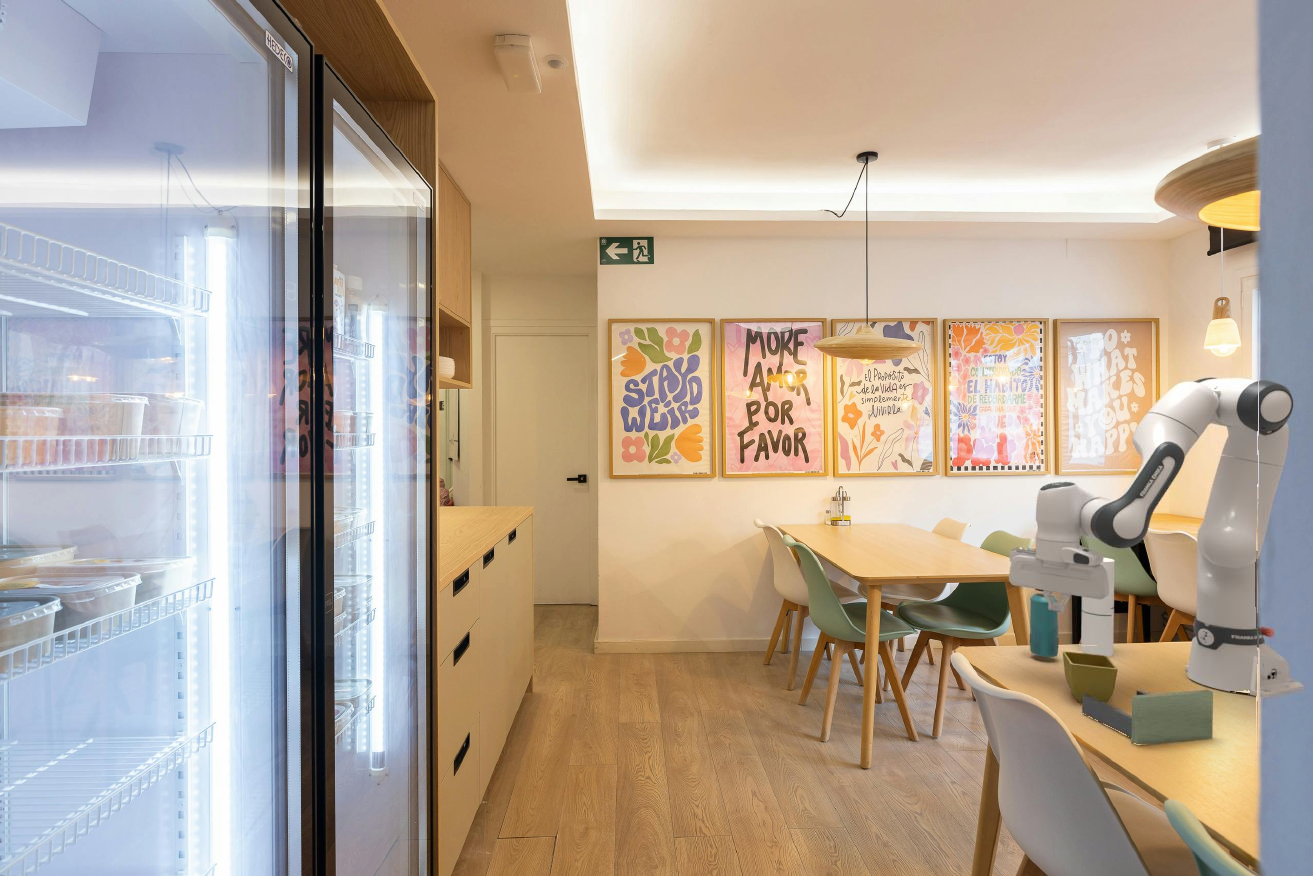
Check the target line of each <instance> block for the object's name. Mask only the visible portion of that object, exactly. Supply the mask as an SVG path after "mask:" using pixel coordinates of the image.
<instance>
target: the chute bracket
mask: <svg viewBox="0 0 1313 876" xmlns="http://www.w3.org/2000/svg"><path fill="white" fill-rule="evenodd" d="M1135 693H1136V694H1135V695H1132V696H1131V714H1129V713H1128V712H1126V711H1124V710H1121V709H1119V708H1117V707H1115V706H1113V705H1110V704H1109V703H1108V702H1107V703H1105V702H1103V701H1100V700H1098V699H1096V698H1094V697H1092V696H1090V695H1088V694H1085V695H1082V702H1081V703H1082V704H1081V705H1082V706H1081V707H1082V708H1081V709H1082V710H1081V711H1082V712H1081V713H1084V714H1086V715H1088V716H1090V717H1092V718H1093V719H1096V720H1098V721H1100V722H1102V723H1104V724H1106V725H1108V726H1110V727H1112V728H1114V729H1116V730H1118V731H1120V732H1122V733H1124V734H1126V735H1127V736H1129V737H1130V738H1132V739H1131V743H1132V742H1133V743H1136V744H1151V745H1158V744H1159V745H1160V744H1169V743H1181V742H1190V741H1200V740H1211V739H1213V733H1214V732H1213V729H1214V728H1213V724H1214V722H1213V720H1214V717H1213V715H1214V691H1211V690H1209V689H1199V690H1197V689H1196V690H1188V691H1187V690H1185V691H1174V692H1172V691H1171V692H1163V693H1162V692H1161V693H1160V692H1159V693H1149V692H1147V691H1144V690H1142V689H1139V690H1136V692H1135ZM1084 714H1083V715H1084ZM1086 715H1085V716H1086ZM1088 716H1087V717H1088ZM1090 717H1089V718H1090ZM1092 718H1091V719H1092ZM1093 719H1092V720H1093ZM1130 738H1129V739H1130ZM1133 743H1132V744H1133Z"/></svg>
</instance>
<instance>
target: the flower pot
mask: <svg viewBox="0 0 1313 876" xmlns="http://www.w3.org/2000/svg"><path fill="white" fill-rule="evenodd" d="M1062 659H1063V668H1064V669H1063V670H1064V671H1063V672H1064V675H1065V676H1064V677H1065V680H1066V682H1067V685H1068V687H1069V689H1070V691H1071V693H1072V695H1073V696H1074V698H1075V700H1076V701H1077V702H1079V703H1082V695H1085V694H1088V695H1090V696H1092V697H1094V698H1096V699H1098V700H1100V701H1103V702H1105V703H1107V704H1108V702H1109V700H1110V699H1111V698H1112V696H1113V694H1114V692H1115V686H1116V684H1117V683H1116V682H1117V676H1118V671H1119V670H1118V666H1116V664H1114V663H1113V661H1112V660H1111V658H1110V657H1107V656H1104V655H1095V654H1086V653H1084V652H1083V653H1082V652H1076V651H1066V650H1065V651H1062Z"/></svg>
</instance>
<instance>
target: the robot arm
mask: <svg viewBox="0 0 1313 876" xmlns="http://www.w3.org/2000/svg"><path fill="white" fill-rule="evenodd" d="M1258 380H1259V379H1254V378H1247V377H1225V378H1223V377H1220V378H1218V377H1217V378H1216V377H1204V378H1199V379H1196V380H1194V381H1182V382H1179V383H1177V384H1176V385H1174V386H1172V387H1171V388H1170V389H1169V390H1168V391H1167V392H1166V393H1165V394H1163V395H1162V396H1161V397H1160V398H1159V399H1158V400H1157V401H1155V403H1154V404H1153V405H1152V407H1151V408H1150V409H1149V410H1148V412H1147V413H1146V414H1145V415H1144V416H1143V417H1142V419H1141V420H1140V422H1139V423H1138V424H1137V427H1136V428H1135V430H1134V432H1133V434H1132V437H1131V438H1132V440H1131V441H1132V444H1133V448H1134V449H1135V451H1136V452H1137V453H1138V455H1140V457H1141V466H1140V468H1139V469H1138V472H1136V474H1135V475H1134V477H1133V479H1132V480H1131V482H1130V483H1129V484H1128V486H1127V488H1125V491H1124V492H1123V493H1122V494H1121V495H1120V496H1118V497H1116V498H1115V499H1110V498H1105V497H1102V496H1099V495H1096V494H1094V493H1091V492H1089V491H1087V490H1086V489H1083V488H1082V487H1080V486H1078V485H1077V484H1076V483H1074V482H1072V481H1071V482H1070V481H1059V482H1053V483H1047V484H1045V485H1043V486H1041V487H1040V489H1039V490H1038V492H1037V498H1036V507H1035V521H1036V524H1037V530H1036V534H1035V548H1029V547H1028V548H1026V547H1021V546H1017V547H1016V548H1013V549H1011V551H1010V552H1009V562H1010V566H1009V571H1008V573H1009V574H1008V581H1009V582H1010V584H1011V585H1013V586H1016V587H1022V588H1028V589H1034V590H1035V589H1040V590H1043V592H1042V594H1043V595H1044V597H1045V599H1046V600H1047V602H1048V609H1049V610H1052V611H1057V612H1058V613H1064V612H1065V611H1066V606H1065V605H1066V604H1067V603H1068V601H1069V600H1070V598H1071V596H1077V597H1081V598H1082V597H1088V598H1094V599H1104V598H1105V597H1107V596H1108V594H1109V582H1108V575H1107V571H1106V569H1105V568H1104V566H1102V565H1101V563H1102V562H1103V559H1104V558H1105V557H1104V555H1103V554H1102V553H1100V552H1097V551H1095V550H1093V549H1090V548H1087V547H1085V546H1083V545H1080V542H1081V540H1080V539H1081V537H1083V536H1084V537H1085V536H1086V537H1089V538H1091V539H1094V540H1096V541H1100V542H1101V543H1103V544H1106V545H1107V546H1109V547H1112V548H1116V549H1129V548H1131V547H1133V546H1135V545H1138V544H1139V543H1140V542H1141V541H1143V539H1144V538H1145V536H1146V535H1147V533H1148V530H1149V527H1150V524H1151V522H1150V521H1151V518H1152V516H1153V514H1154V512H1155V509H1156V508H1157V506H1158V505H1159V503H1160V501H1161V500H1162V499H1163V497H1164V496H1165V494H1166V493H1167V491H1168V490H1169V488H1170V487H1171V485H1172V484H1173V482H1174V481H1175V479H1176V477H1177V475H1178V474H1179V472H1180V471H1181V468H1182V466H1183V465H1184V462H1185V458H1186V456H1187V455H1188V453H1189V452H1190V451H1191V449H1192V448H1193V447H1194V445H1195V443H1197V442H1198V441H1199V439H1200V437H1201V436H1202V435H1203V434H1204V432H1205V430H1206V429H1207V428H1208V426H1209V425H1210V424H1213V425H1217V426H1223V427H1226V428H1227V429H1226V430H1227V433H1228V434H1227V438H1226V440H1225V441H1224V442H1225V443H1224V446H1223V448H1222V451H1221V454H1220V457H1219V461H1218V463H1217V464H1218V465H1217V469H1216V471H1215V475H1214V478H1213V481H1212V482H1213V483H1212V485H1211V488H1210V493H1209V497H1208V502H1207V505H1206V509H1205V512H1204V516H1203V519H1202V520H1203V521H1202V523H1201V524H1200V526H1198V527H1199V528H1198V530H1197V533H1196V534H1197V536H1196V537H1197V538H1196V542H1197V545H1196V548H1197V549H1196V555H1197V556H1196V558H1197V559H1196V617H1194V619H1193V620H1194V621H1193V624H1192V625H1193V633H1194V635H1195V636H1194V637H1193V638H1192V640H1191V646H1190V652H1189V654H1190V655H1189V661H1188V663H1187V664H1185V668H1184V669H1185V670H1186V671H1187V673H1186V676H1187V677H1188V679H1190V680H1191V681H1193V682H1195V683H1198V684H1200V685H1202V686H1206V687H1209V688H1213V689H1216V690H1221V691H1225V692H1230V691H1244V690H1246V691H1248V690H1249V691H1250V696H1254V697H1258V696H1257V664H1258V650H1257V628H1256V607H1255V562H1256V527H1257V484H1258V455H1257V431H1258ZM1293 408H1294V400H1293V396H1292V393H1291V391H1290V390H1289V388H1288V387H1286V386H1285V385H1283V384H1280V383H1278V382H1274V381H1271V380H1263V379H1262V380H1259V436H1258V450H1259V504H1258V555H1257V559H1258V558H1259V557H1260V554H1261V552H1262V549H1263V545H1264V541H1265V537H1266V533H1267V529H1268V525H1269V521H1270V518H1271V517H1270V515H1271V512H1272V508H1273V503H1274V498H1275V496H1276V492H1277V490H1278V485H1279V483H1280V479H1281V476H1282V473H1283V469H1284V465H1285V461H1286V457H1287V454H1288V449H1289V448H1288V447H1289V437H1290V427H1289V425H1288V423H1287V422H1288V420H1289V418H1290V417H1291V415H1292V412H1293V410H1294V409H1293ZM1258 571H1259V570H1257V613H1258V614H1259V594H1260V593H1259V592H1260V591H1259V577H1258V576H1259V575H1258V574H1259V573H1258ZM1054 593H1059V594H1060V598H1061V601H1060V602H1058V603H1057V602H1054V601H1053V599H1052V597H1051V595H1052V596H1053V594H1054ZM1258 634H1259V649H1260V697H1259V698H1265V699H1270V698H1274V697H1275V698H1276V697H1280V696H1283V695H1288V694H1291V693H1296V692H1300V691H1304V690H1305V686H1304V685H1303V684H1302V683H1301V682H1299V681H1297V680H1295V679H1292V678H1291V674H1290V665H1289V662H1288V661H1287V660H1286V658H1284V657H1283V656H1281V655H1280V654H1279V653H1278V652H1277V651H1275V650H1274V649H1272V648H1271V647H1270V646H1269V645H1267V643H1266V641H1265V639H1264V636H1265V637H1268V638H1272V637H1273V636H1274V634H1275V632H1274V630H1273V628H1270V627H1265V626H1261V627H1260V626H1258ZM1263 663H1264V668H1263Z"/></svg>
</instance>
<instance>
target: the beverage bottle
mask: <svg viewBox="0 0 1313 876" xmlns="http://www.w3.org/2000/svg"><path fill="white" fill-rule="evenodd" d="M1034 590H1035V591H1039V592H1041V593H1039V592H1038V593H1035V594H1033V595H1031V596H1030V599H1029V600H1030V601H1029V602H1030V605H1029V606H1030V609H1029V610H1030V612H1029V614H1030V616H1029V649H1030V653H1031V654H1033V655H1036V656H1040V657H1044V658H1055V657H1058V654H1059V651H1060V650H1059V643H1060V642H1059V631H1060V630H1059V618H1058V617H1059V616H1058V613H1059V612H1057V611H1052V610H1049V609H1048V602H1047V600H1046V599H1045V597H1044V595H1043V590H1040V589H1034ZM1051 597H1052V599H1053V601H1054V602H1057V603H1059V600H1058V599H1057V598H1056V597H1055V596H1053V594H1052V595H1051Z"/></svg>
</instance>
